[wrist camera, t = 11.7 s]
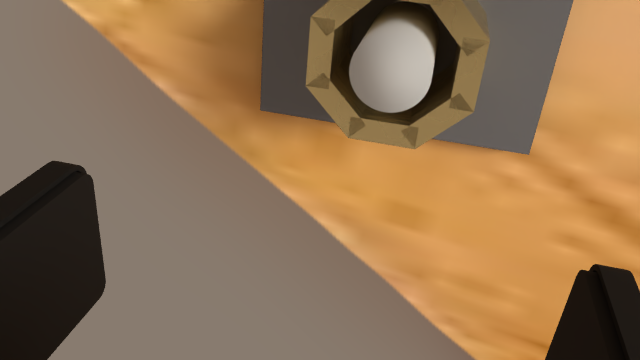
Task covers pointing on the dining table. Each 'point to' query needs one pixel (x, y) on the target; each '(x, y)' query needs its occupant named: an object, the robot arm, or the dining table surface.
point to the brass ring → (440, 100)
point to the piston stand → (423, 63)
